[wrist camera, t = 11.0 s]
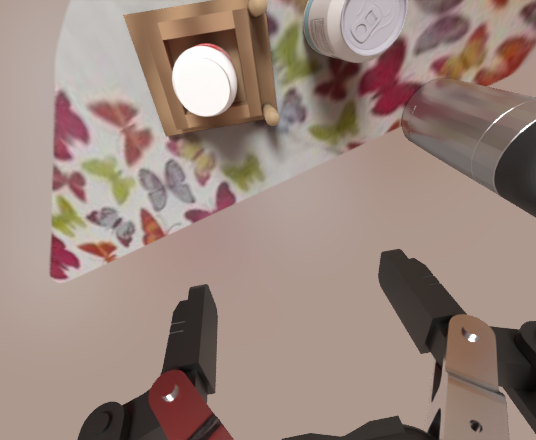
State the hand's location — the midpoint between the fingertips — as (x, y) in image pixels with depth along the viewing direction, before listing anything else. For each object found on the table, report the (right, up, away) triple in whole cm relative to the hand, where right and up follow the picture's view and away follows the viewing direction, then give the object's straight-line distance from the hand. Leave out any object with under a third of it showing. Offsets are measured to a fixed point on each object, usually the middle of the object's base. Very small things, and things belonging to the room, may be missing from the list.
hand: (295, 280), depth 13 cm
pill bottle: (-8, +20, +21) cm, 30 cm away
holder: (-8, +21, +21) cm, 31 cm away
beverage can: (+6, +26, +20) cm, 33 cm away
